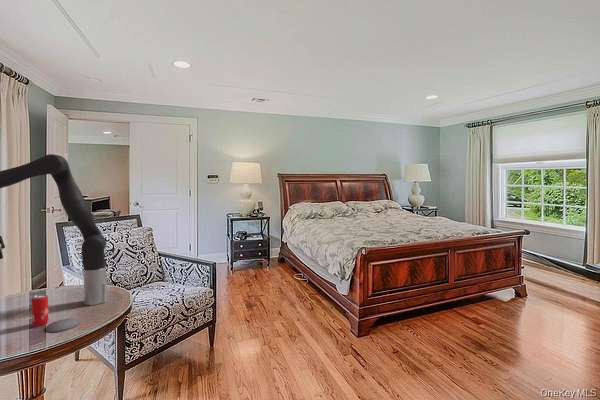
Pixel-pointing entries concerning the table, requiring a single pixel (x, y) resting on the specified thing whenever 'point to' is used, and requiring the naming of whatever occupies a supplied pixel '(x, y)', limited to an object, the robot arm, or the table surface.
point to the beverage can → (39, 310)
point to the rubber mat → (62, 325)
